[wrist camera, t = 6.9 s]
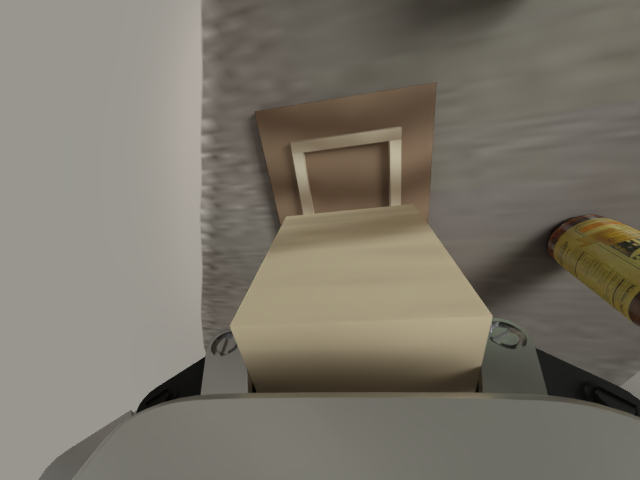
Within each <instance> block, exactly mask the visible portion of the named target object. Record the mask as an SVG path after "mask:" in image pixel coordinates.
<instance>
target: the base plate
mask: <svg viewBox="0 0 640 480" xmlns="http://www.w3.org/2000/svg"><path fill="white" fill-rule="evenodd" d="M435 98H436V82H435V83H429V84H423V85H417V86H410V87H404V88H398V89H392V90H386V91H379V92H373V93H367V94H361V95H355V96H348V97H342V98H336V99H330V100H324V101H317V102H311V103H305V104H299V105H293V106H286V107H280V108H274V109H268V110H261V111H255V116H256V120H257V125H258V129H259V133H260V138H261V142H262V146H263V151H264V155H265V159H266V164H267V168H268V172H269V177H270V181H271V185H272V190H273V194H274V198H275V203H276V207H277V211H278V216H279V220H280V224H281V226H282V224H283V222H284V220H285V218H286V216H296V215H306V214H317V213H327V212H337V211H347V210H357V209H367V208H377V207H387V206H397V205H408V204H414V205H415V207H416V208H417V209H418V211H419V212H420V214H421V215H422V216H423V218H424V219H425V221H426V222H427V224H428V214H429V197H430V181H431V164H432V148H433V131H434V114H435Z"/></svg>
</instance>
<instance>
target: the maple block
mask: <svg viewBox="0 0 640 480" xmlns="http://www.w3.org/2000/svg"><path fill="white" fill-rule="evenodd" d="M492 317H493V316H492V314H491V313H490V311H489V310H488V309H487V307H486V306H485V304H484V303H483V301H482V300H481V299H480V297H479V296H478V294H477V293H476V292H475V290H474V289H473V287H472V286H471V284H470V283H469V282H468V280H467V279H466V277H465V276H464V275H463V273H462V272H461V270H460V269H459V267H458V266H457V265H456V263H455V262H454V260H453V259H452V258H451V256H450V255H449V253H448V252H447V250H446V249H445V248H444V246H443V245H442V243H441V242H440V241H439V239H438V238H437V236H436V235H435V233H434V232H433V231H432V229H431V228H430V226H429V225H428V224H427V222H426V221H425V219H424V218H423V216H422V215H421V214H420V212H419V211H418V209H417V208H416V207H415V205H414V204H408V205H397V206H387V207H377V208H367V209H357V210H347V211H337V212H327V213H317V214H306V215H296V216H286V218H285V220H284V222H283V224H282V226H281V228H280V229H279V231H278V233H277V235H276V237H275V239H274V241H273V243H272V245H271V247H270V249H269V251H268V253H267V255H266V257H265V259H264V260H263V262H262V264H261V266H260V268H259V270H258V272H257V274H256V276H255V278H254V280H253V282H252V284H251V286H250V288H249V290H248V292H247V293H246V295H245V297H244V299H243V301H242V303H241V305H240V307H239V309H238V311H237V313H236V315H235V317H234V319H233V321H232V323H231V325H230V329H231V331H232V333H233V336H234V338H235V341H236V343H237V346H238V348H239V350H240V353H241V355H242V358H243V360H244V363H245V365H246V367H247V370H248V372H249V375H250V377H251V380H252V382H253V385H254V387H255V389H256V392H257V393H299V392H473V393H475V391H476V386H477V382H478V378H479V373H480V369H481V365H482V360H483V356H484V352H485V347H486V343H487V339H488V334H489V330H490V326H491V321H492Z"/></svg>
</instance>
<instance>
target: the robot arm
mask: <svg viewBox="0 0 640 480" xmlns="http://www.w3.org/2000/svg"><path fill="white" fill-rule="evenodd" d="M39 480H640V400H639V399H638V398H636V397H634V396H633V395H632V394H631V393H629V392H628V391H626V390H624V389H622V388H620V387H618V386H617V385H614V384H612V383H610V382H608V381H606V380H604V379H602V378H599V377H597V376H595V375H593V374H591V373H589V372H586V371H584V370H582V369H580V368H578V367H576V366H573V365H571V364H569V363H567V362H565V361H563V360H560V359H558V358H556V357H554V356H552V355H550V354H547V353H545V352H543V351H541V350H539V349H537V348H535V345H534V341H533V339H532V337H531V335H530V334H529V333H528V332H527V331H526V330H525V329H524V328H522V327H521V326H520V325H518V324H516V323H514V322H511V321H508V320H505V319H499V318H492V321H491V326H490V330H489V334H488V339H487V343H486V347H485V352H484V356H483V360H482V365H481V369H480V373H479V378H478V382H477V386H476V391H475V393H473V392H299V393H257V392H256V389H255V387H254V385H253V382H252V380H251V377H250V375H249V372H248V370H247V367H246V365H245V363H244V360H243V358H242V355H241V353H240V350H239V348H238V346H237V343H236V341H235V338H234V336H233V333H232V331H231V329H227V330H224V331H222V332H220V333H219V334H217V335H216V336H215V337H214V338H213V339H211V341H210V342H209V344H208V346H207V350H206V356H205V357H204V358H202V359H201V360H199V361H198V362H196V363H195V364H193V365H191V366H190V367H188V368H187V369H185V370H183V371H182V372H180V373H179V374H177V375H176V376H174V377H172V378H171V379H169V380H168V381H166V382H165V383H163V384H162V385H160V386H158V387H157V388H155V389H154V390H153V391H151V392H150V393H149V394H148V395H147V396H146V397H145V398H144V399H143V401H142V402H141V403H140V405H139V407H138V409H137V411H135V412H134V413H133V412H132V411H131V410H130V411H129V412H127V413H125V414H124V415H122V416H121V417H119V418H118V419H116V420H114V421H113V422H111V423H110V424H108V425H106V426H105V427H103V428H102V429H100V430H99V431H97V432H95V433H94V434H92V435H91V436H89V437H87V438H86V439H84V440H83V441H81V442H80V443H78V444H77V445H75V446H73V447H72V448H70V449H69V450H67V451H66V452H64V453H63V454H62V455H60V456H59V457H57V458H56V459H55V460H54V461H53V462H52V463H51V464H50V465H49V466H48V467H47V468H46V470H45V471H44V473H43V474H42V475H41V477H40V478H39Z"/></svg>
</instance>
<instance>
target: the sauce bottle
mask: <svg viewBox="0 0 640 480" xmlns="http://www.w3.org/2000/svg"><path fill="white" fill-rule="evenodd" d="M548 252H549V254H550V256H551V257H552V258H554V259H555V260H556V262H557V263H558V264H559V265H561V266H562V267H563V268H564V269H566V270H567V271H568V272H569V273H571V274H572V275H573V276H575V277H576V278H577V279H578V280H580V281H581V282H582V283H583V284H585V285H586V286H587V287H589V288H590V289H591V290H592V291H594V292H595V293H596V294H598V295H599V296H600V297H601V298H603V299H604V300H605V301H606V302H608V303H609V304H610V305H611V306H613V307H614V308H615V309H616V310H618V311H619V312H620V313H622V314H623V315H624V316H625V317H627V318H628V319H629V320H630V321H632V322H633V323H634V324H636V325H638V326H640V231H638V230H636V229H634V228H631V227H629V226H627V225H625V224H622V223H620V222H618V221H615V220H612V219H607V218H605V217H602V216H598V215H584V216H579V217H576V218H572V219H569V220H567V221H566V222H564V223H563V224H562V225H561V226H560V227H558V228H557V229H556V230H555V231H554V232H553V234H552V235H551V237H550V239H549V241H548Z"/></svg>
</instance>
